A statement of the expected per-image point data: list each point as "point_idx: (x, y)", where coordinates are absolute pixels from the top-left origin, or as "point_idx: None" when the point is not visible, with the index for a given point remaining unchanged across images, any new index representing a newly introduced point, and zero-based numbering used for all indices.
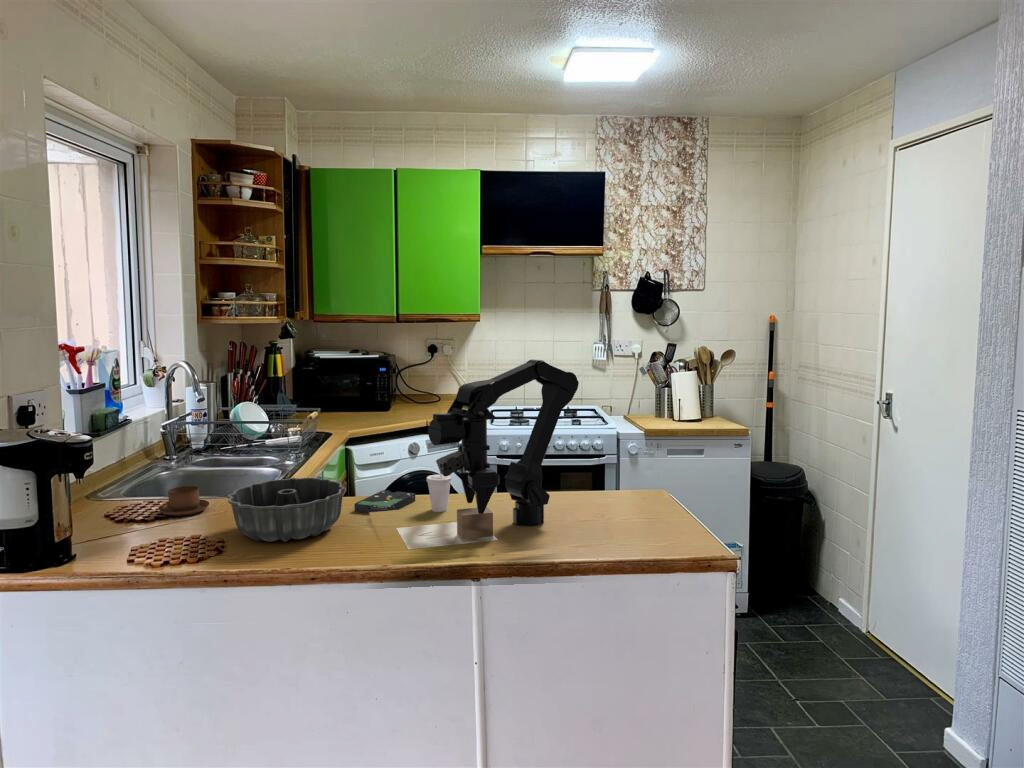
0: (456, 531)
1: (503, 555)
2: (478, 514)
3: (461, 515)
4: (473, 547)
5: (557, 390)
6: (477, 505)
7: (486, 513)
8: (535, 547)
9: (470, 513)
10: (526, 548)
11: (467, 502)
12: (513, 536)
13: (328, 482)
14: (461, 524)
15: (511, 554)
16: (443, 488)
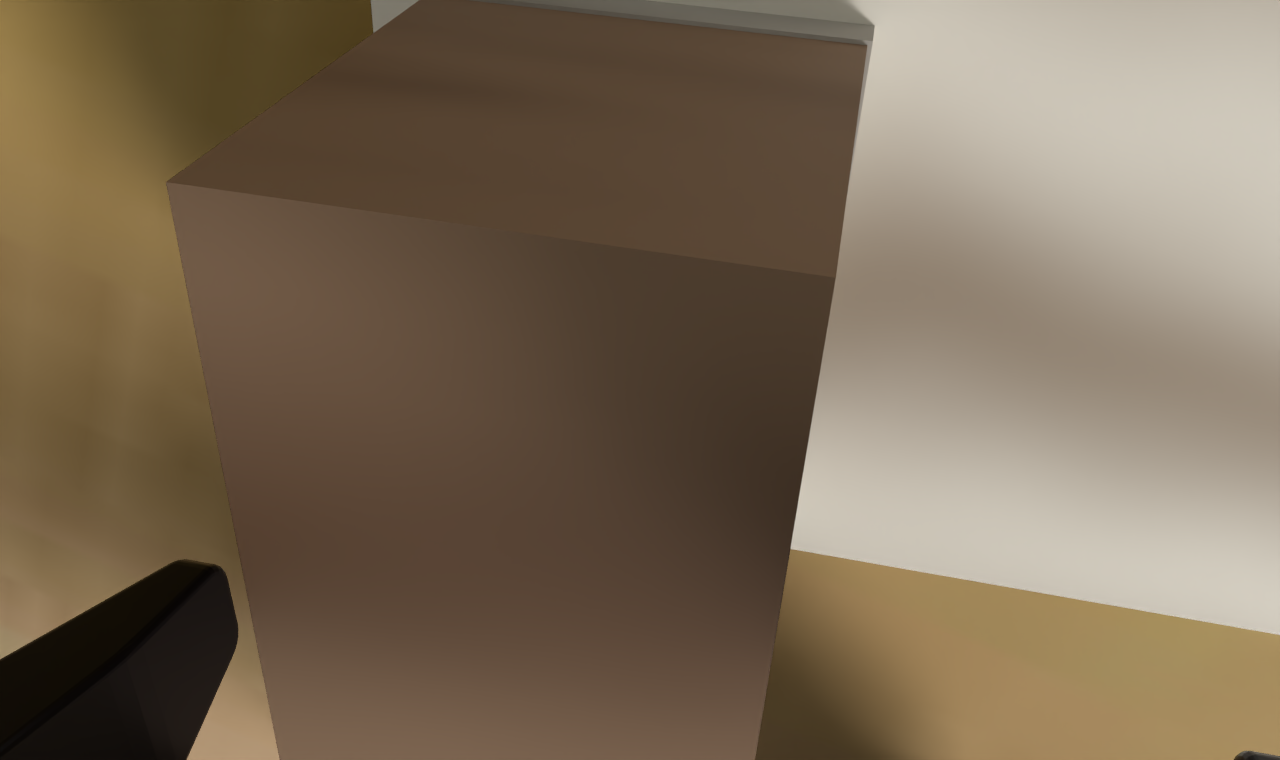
0: (1126, 106)
1: (54, 334)
2: (241, 541)
3: (267, 186)
4: None
5: None
6: (6, 680)
7: (269, 679)
8: (263, 688)
9: (310, 429)
10: (250, 616)
11: (1261, 756)
12: None
13: None
14: (384, 95)
15: (80, 419)
16: None
